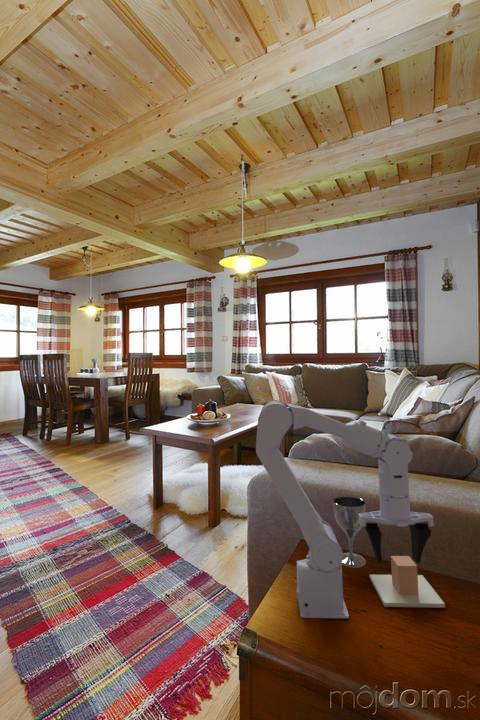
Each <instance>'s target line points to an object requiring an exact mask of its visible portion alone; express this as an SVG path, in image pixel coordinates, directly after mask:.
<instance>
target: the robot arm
mask: <svg viewBox="0 0 480 720" xmlns="http://www.w3.org/2000/svg"><path fill="white" fill-rule="evenodd" d="M257 418H258V419H257V425H256V426H257V427H256V429H257V430H256V442H255V453H256V456H257V458H258V459H259V460H260V462H261V464H262V466H263V467H264V469H265V471H266V472H267V475H268V476H269V477H270V480H271V481H272V483H273V484H274V485H275V488H276V490H277V491H278V492H279V495H280V496H281V498H282V500H283V501H284V503H285V504H286V507H287V508H288V510H289V511H290V513H291V514H292V517H293V518H294V520H295V522H296V524H297V525H298V527H299V529H300V531H301V533H302V535H303V538H304V540H305V541H306V544H307V545H308V548H309V550H308V552H307V555H306V556H305V558H304V559H300V560H296V585H297V586H296V587H297V588H296V590H295V591H296V599H297V601H298V607H299V614H300V615H299V616H300V617H301V618H304V619H309V618H310V619H347V620H348V619H349V618H350V614H349V611H348V608H347V605H346V603H345V600H344V591H343V590H344V589H343V585H344V584H343V569H342V568H343V565H342V560H343V553H344V552H343V549H342V547H341V546H340V544H339V542H338V539H337V537H336V535H335V531H334V528H333V527H332V526H331V525H330V524H329V523H328V522H326V521H325V520H324V519H323V518H322V516H321V515H320V514H319V512H318V511H317V510H316V509H315V507H314V505H313V504H312V502H311V500H310V499H309V497H308V495H307V494H306V491H304V489H303V487H302V485H301V484H300V482H299V480H298V479H297V477H296V475H295V474H294V472H293V470H292V469H291V467H290V465H289V463H288V462H287V460H286V458H285V457H284V455H283V454H282V453H283V452H282V451H281V450H280V448H281V444H282V440H283V437H284V436H285V435H286V433H287V432H288V431H289V429H290V427H292V429H293V430H297V429H301V428H304V427H308V428H311V429H312V430H313V429H314V430H317V431H320V432H321V433H325V434H328V435H332V436H334V437H337V438H339V439H341V441H342V443H343V446H345V447H346V448H348V449H351V450H353V451H357V452H360V453H362V454H365V455H367V456H370V457H371V458H378V459H377V462H378V463H377V464H378V488H379V489H378V492H379V493H378V494H379V495H378V496H379V510H376V511H370V512H365V513H358V517H359V524H360V525H361V526H362V527H364V529H365V531H366V533H367V535H368V538H369V540H370V544H371V546H372V549H373V554H374V559H375V561H376V562H377V563H380V564H381V563H382V561H383V560H382V559H383V558H382V556H383V555H382V548H381V547H382V535H383V533H382V532H381V530H380V527H379V526H397V527H398V528H399V527H401V528H404V527H409V532H410V538H411V540H410V541H411V556H412V560H413V561H414V562H415V564H420V563H421V559H422V555H423V551H424V548H425V546H426V543H427V541H428V540H429V539H430V537H431V536H432V530H431V529H430V527H435V523H434V516H433V515H432V514H430V513H429V512H416V511H411V504H410V485H409V484H410V483H409V466H408V465H409V464H410V462H411V461H412V458H413V455H414V452H413V451H411V448H410V445H409V443H408V442H407V441H406V440H404V439H402V438H401V437H398V436H396V435H394V434H391V432H389V431H388V430H386V429H384V428H382V429H381V430H380V429H377V428H374V427H371V426H369V425H367V422H366V421H363V420H361V419H358V421H356V420H351V421H349V422H347V423H344V422H341V421H339V420H336V419H335V418H331V417H329V416H327V415H324V414H322V413H319V412H316V411H315V410H312V409H309V408H307V407H305V406H301V405H297V404H294V403H288V402H286V404H285V403H284V402H283V401H281V400H278V399H272V400H269V401H267V402H265V404H263V406H262V408H261V411H260V413H259V416H258V417H257Z"/></svg>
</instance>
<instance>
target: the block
mask: <svg viewBox="0 0 480 720" xmlns="http://www.w3.org/2000/svg"><path fill="white" fill-rule="evenodd" d="M390 562H391V564H390V565H391V568H390V569H391V575H392V584H393V585H394V587H395V589H396V590H397V592H398V594H399V595H418V575H419V574H418V565H417V563H416V562H415V561H414V559H413V558H411V556H410V555H391V556H390Z"/></svg>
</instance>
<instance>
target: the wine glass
mask: <svg viewBox="0 0 480 720" xmlns="http://www.w3.org/2000/svg"><path fill="white" fill-rule="evenodd" d="M332 501H333V503H332V505H333V513H334V517H335V521H336V523H337V525H338V526H339V528H341V530H342V531H343V533H344V534H345V535H346V537H347V539H348V547H349V552H343V560H342V566H344V567H347V568H351V569H352V568H353V569H358V568H359V569H360V568H363V567H364V566H366V564H367V561H366V558H364V557H363V556H362V555H360V554H357V553H354V552H353V544H354V537H355V536H356V534H357V533H358V532H359V531H360V530H361V528H362V527H363V526H361V525H360V524H359V517H358V513H366V501H365V500H364V499H362V498H361V497H358V496H352V495H340V496H336V497H334V498H333V500H332Z"/></svg>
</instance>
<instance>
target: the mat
mask: <svg viewBox="0 0 480 720" xmlns="http://www.w3.org/2000/svg"><path fill="white" fill-rule="evenodd" d="M417 575H418V595H399V594H398V592H397V590H396V589H395V587H394V585H393V584H392V574H369V579H370V581H371V584H372V586H373V587H374V589H375V591H376V593H377V595H378V597H379V599H380V600H381V603H382V605H383V606H384V608H385V607H386V608H390V607H391V608H437V609H438V608H439V609H440V608H443V609H445V608H446V604H445V602H444V601H443V599H441V597H440V595H438V593H437V592H436V590H434V588H433V587H432V585H431V584H430V583H429V582H428V580H427V579H426V577H424V575H422V574H417Z"/></svg>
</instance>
